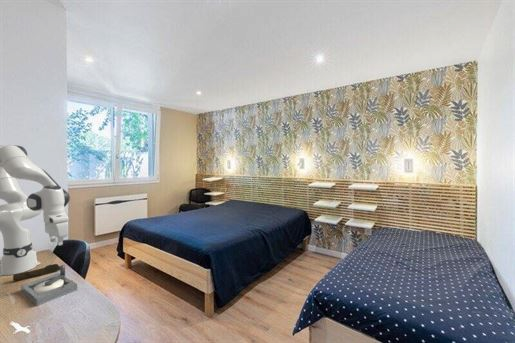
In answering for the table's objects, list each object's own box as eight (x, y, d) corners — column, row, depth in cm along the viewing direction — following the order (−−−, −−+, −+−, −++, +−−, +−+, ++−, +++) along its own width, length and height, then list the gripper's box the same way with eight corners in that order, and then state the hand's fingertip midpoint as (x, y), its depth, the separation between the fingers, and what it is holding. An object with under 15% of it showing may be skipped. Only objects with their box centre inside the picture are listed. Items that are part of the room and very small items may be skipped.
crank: (27, 294, 113) (26, 278, 113) (54, 279, 128) (53, 264, 127) (50, 295, 113) (49, 278, 112) (74, 279, 127) (74, 265, 127)
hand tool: (12, 283, 126) (12, 274, 126) (14, 280, 130) (13, 272, 129) (60, 272, 138) (59, 264, 138) (60, 270, 141) (59, 262, 141)
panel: (21, 291, 118) (20, 285, 118) (60, 277, 131) (60, 272, 131) (37, 305, 106) (36, 298, 106) (78, 289, 120) (78, 283, 119)
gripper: (40, 216, 130) (41, 241, 131) (54, 220, 119) (56, 248, 119) (54, 213, 135) (56, 238, 136) (70, 217, 124) (71, 244, 125)
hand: (56, 243), depth 127 cm, fingers open, 8 cm apart
